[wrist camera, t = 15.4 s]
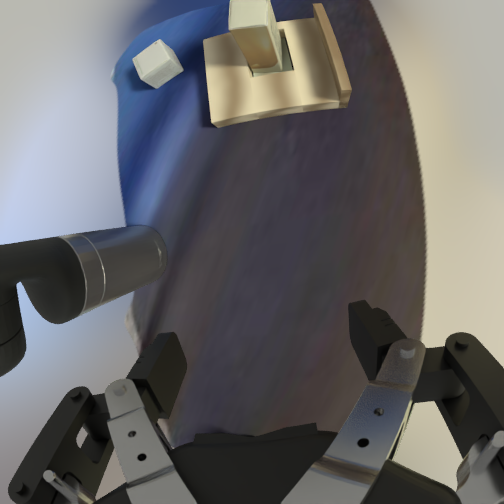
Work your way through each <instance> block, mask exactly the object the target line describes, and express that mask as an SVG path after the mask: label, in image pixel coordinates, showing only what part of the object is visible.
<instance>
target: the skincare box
mask: <svg viewBox="0 0 504 504" xmlns="http://www.w3.org/2000/svg"><path fill="white" fill-rule="evenodd" d="M229 30H230V32H231V34H232V35H233V37H234V39H235V40H236V42H237V44H238V46H239V47H240V49H241V51H242V53H243V55H244V56H245V58H246V60H247V62H248V64H249V66H250V67H251V69H252V71H253V73H264V72H281V71H282V70H283V58H282V42H281V38H280V34H279V30H278V27H277V23H276V20H275V17H274V13H273V10H272V6H271V3H270V0H230V7H229Z"/></svg>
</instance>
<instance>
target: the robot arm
mask: <svg viewBox="0 0 504 504" xmlns="http://www.w3.org/2000/svg"><path fill="white" fill-rule="evenodd" d="M166 265H167V250H166V246H165V244H164V241H163V239H162V238H161V236H160V235H159V234H158V233H157V232H156V231H155V230H154V229H152V228H151V227H148V226H143V225H139V226H130V227H121V228H113V229H106V230H98V231H91V232H84V233H77V234H71V235H64V236H58V237H51V238H45V239H39V240H31V241H24V242H18V243H12V244H5V245H0V377H1V376H3V375H4V374H6V373H8V372H9V371H11V370H12V369H13V368H14V367H16V366H17V365H18V364H19V362H20V361H21V360H22V359H23V357H24V354H25V351H26V338H25V332H24V328H23V323H22V317H21V313H20V307H19V301H18V294H17V287H16V284H17V283H18V282H21V283H22V285H23V286H24V288H25V290H26V293H27V295H28V297H29V299H30V301H31V302H32V304H33V306H34V307H35V309H36V310H37V312H38V313H39V314H40V315H41V316H42V317H43V318H44V319H45V320H47V321H49V322H51V323H54V324H62V323H65V322H68V321H70V320H72V319H74V318H76V317H78V316H80V315H82V314H84V313H87V312H89V311H91V310H93V309H95V308H97V307H99V306H101V305H104V304H106V303H108V302H110V301H112V300H115V299H116V298H119V297H121V296H123V295H125V294H128V293H130V292H132V291H134V290H136V289H139V288H141V287H143V286H145V285H148V284H150V283H152V282H154V281H156V280H157V279H159V278H160V277H161V276H162V274H163V272H164V271H165V268H166ZM348 311H349V330H350V339H351V343H352V346H353V348H354V350H355V352H356V354H357V356H358V358H359V361H360V363H361V365H362V367H363V369H364V371H365V373H366V375H367V378H368V380H369V382H368V383H367V385H366V387H365V389H364V391H363V393H362V395H361V396H360V398H359V400H358V402H357V404H356V405H355V407H354V409H353V410H352V412H351V414H350V415H349V417H348V419H347V420H346V422H345V424H344V425H343V427H342V429H341V430H340V432H339V433H336V432H331V431H317V426H316V423H311V424H305V425H299V426H293V427H286V428H283V429H280V430H276V431H273V432H270V433H267V434H263V435H260V436H256V437H246V436H239V435H232V434H226V433H212V434H195V438H194V442H190V443H187V444H184V445H181V446H178V447H176V448H174V449H172V447H171V445H170V444H169V442H168V440H167V439H166V437H165V435H164V433H163V432H162V430H161V428H160V426H159V425H158V423H157V421H158V418H163V419H169V417H170V414H171V411H172V409H173V406H174V403H175V400H176V398H177V395H178V392H179V389H180V387H181V384H182V381H183V379H184V376H185V373H186V370H187V362H186V358H185V355H184V353H183V350H182V348H181V345H180V342H179V340H178V337H177V335H176V334H175V333H174V332H169V333H160V334H158V335H157V337H156V339H155V340H154V342H153V343H152V344H150V345H149V346H148V347H147V348H145V349H144V350H143V352H142V353H141V355H140V356H139V358H138V360H137V361H136V363H135V364H134V366H133V367H132V369H131V371H130V372H129V374H128V375H127V377H126V379H120V380H116V381H114V382H112V383H111V384H110V385H109V386H108V387H107V388H106V390H105V393H103V394H97V395H92V394H91V392H90V391H89V389H88V388H86V387H83V386H82V387H76V388H74V389H72V390H70V391H69V392H68V393H67V394H66V395H65V397H64V398H63V400H62V401H61V403H60V404H59V405H58V407H57V408H56V410H55V411H54V413H53V414H52V416H51V417H50V419H49V420H48V421H47V423H46V425H45V426H44V428H43V429H42V431H41V432H40V434H39V435H38V437H37V438H36V440H35V442H34V443H33V445H32V446H31V448H30V450H29V451H28V453H27V454H26V456H25V458H24V460H23V461H22V463H21V464H20V466H19V468H18V470H17V471H16V473H15V475H14V477H13V478H12V480H11V482H10V484H9V487H8V493H9V496H10V498H11V499H12V501H14V502H15V503H16V504H504V368H503V367H502V366H501V365H500V364H499V362H498V361H497V360H496V359H495V358H494V357H493V356H492V355H491V353H489V351H488V350H487V349H486V348H485V347H484V346H483V345H482V344H481V343H480V342H479V341H478V339H477V338H476V337H474V336H473V335H471V334H468V333H464V332H459V333H455V334H452V335H450V336H449V337H448V338H447V339H446V343H445V346H443V347H435V348H425V345H424V344H423V343H422V342H421V341H419V340H416V339H411V338H407V337H406V336H405V334H404V333H403V332H402V331H401V329H400V328H399V327H398V326H397V324H395V322H394V321H393V319H391V317H390V316H389V315H388V313H387V312H386V311H384V310H382V309H380V308H374V309H372V308H371V307H370V306H369V304H368V303H367V302H366V300H361V301H357V302H353V303H349V305H348ZM427 401H435V403H436V405H437V407H438V409H439V411H440V412H441V414H442V416H443V418H444V420H445V422H446V424H447V426H448V428H449V430H450V432H451V434H452V436H453V439H454V441H455V443H456V445H457V447H458V449H459V451H460V453H461V456H462V458H463V461H462V462H461V464H460V466H459V467H458V470H457V482H458V486H457V490H456V492H455V491H454V490H452V489H451V488H450V487H448V486H446V485H444V484H442V483H439V482H437V481H435V480H433V479H430V478H428V477H426V476H424V475H421V474H419V473H417V472H415V471H413V470H411V469H409V468H406V467H404V466H402V465H400V464H398V463H396V462H394V461H393V460H394V457H395V455H396V453H397V450H398V448H399V445H400V442H401V440H402V437H403V434H404V432H405V429H406V427H407V424H408V421H409V419H410V416H411V413H412V410H413V407H414V404H415V403H419V402H427ZM81 427H83V428H84V429H85V431H86V432H87V433H88V435H87V437H86V439H85V441H84V443H83V444H82V446H81V448H79V447H78V445H77V442H76V437H77V435H78V433H79V431H80V429H81ZM114 448H115V451H116V454H117V457H118V460H119V463H120V465H121V468H122V471H123V474H124V476H125V479H126V482H125V483H124V484H123V485H121V486H119V487H118V488H116V489H115V490H113V491H111V492H110V493H108V494H107V495H105V496H104V497H102V498H100V499H99V500H97V501H96V499H95V496H96V493H97V491H98V488H99V485H100V483H101V480H102V478H103V475H104V472H105V470H106V467H107V464H108V462H109V460H110V457H111V455H112V452H113V450H114Z"/></svg>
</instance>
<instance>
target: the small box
mask: <svg viewBox="0 0 504 504" xmlns="http://www.w3.org/2000/svg"><path fill="white" fill-rule="evenodd" d="M133 62H134V65H135V67H136V70H137V72H138V74H139V77H140V79H141V80H143V81H144V82H146V83H148V84H149V85H151V86H152V87H154V88H156V89H157V88H159V87H160V86H162V85H163V84H164V83H166V82H167V81H169V80H170V79H172V78H173V77H175V76H176V75H178V74H179V73H181V72H182V71H183V68H182V66H181V64H180V62H179V60H178V58H177V56H176V55H175V53H174V51H173V50H172V49H170V48H169V47H168V46H167V45H166V44H165V43H164V42H162V41H161V40H160V39H159V40H157V41H156V42H154V43H153V44H152V45H150V46H149V47H148V48H146V49H145V50H144V51H142V52H141V53H140V54H138V55H137V56H136V57H135V58H133Z"/></svg>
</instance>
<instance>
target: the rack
mask: <svg viewBox="0 0 504 504" xmlns="http://www.w3.org/2000/svg"><path fill="white" fill-rule="evenodd" d="M313 9H314V18H308V19H299V20H291V21H284V22H277V27H278V30H279V34H280V38H281V42H282V58H283V70H282V71H281V72H264V73H253V75H254V77H253V76H252V71H251V67H250V66H249V64H248V62H247V60H246V58H245V56H244V55H243V53H242V51H241V49H240V47H239V46H238V44H237V42H236V40H235V39H234V37H233V35H232V34H231V32H229V33H226V34H222V35H218V36H215V37H212V38H208V39H205V40H203V44H204V55H205V66H206V76H207V86H208V96H209V105H210V114H211V123H212V124H214V125H215V126H216V127H218V128H219V127H223V126H227V125H232V124H236V123H241V122H246V121H251V120H256V119H261V118H267V117H273V116H279V115H285V114H292V113H299V112H307V111H315V110H324V109H334V108H347V105H348V102H349V98H350V94H351V90H352V89H351V85H350V82H349V78H348V75H347V72H346V68H345V65H344V62H343V59H342V56H341V53H340V50H339V47H338V44H337V41H336V38H335V36H334V33H333V30H332V28H331V25H330V22H329V20H328V17H327V15H326V12H325V10H324V8H323V5H322V3H319V4H313ZM284 37H286V40H287V44H288V47H289V51H290V55H291V59H292V63H293V67H294V70H293V69H292V65H291V61H290V57H289V53H288V49H287V45H286V41H285V38H284Z"/></svg>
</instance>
